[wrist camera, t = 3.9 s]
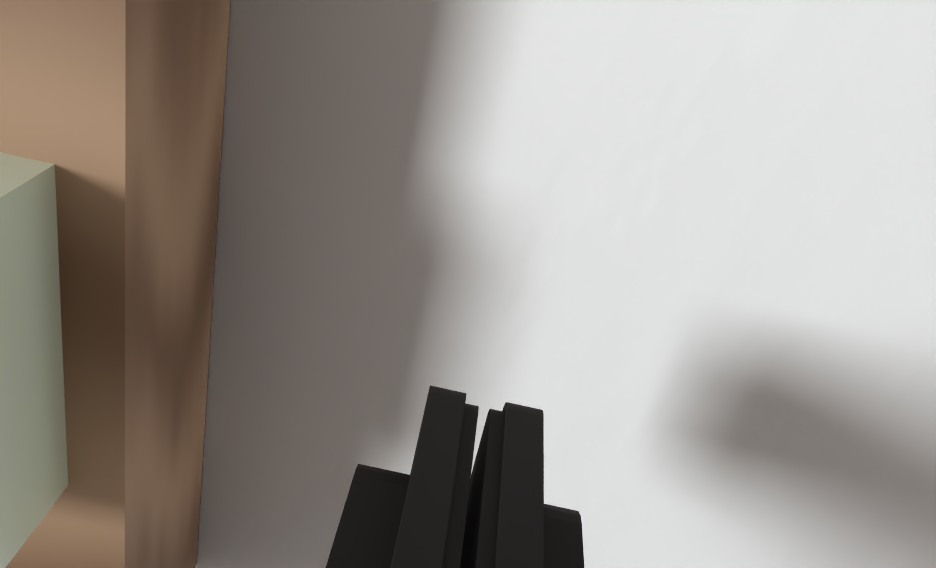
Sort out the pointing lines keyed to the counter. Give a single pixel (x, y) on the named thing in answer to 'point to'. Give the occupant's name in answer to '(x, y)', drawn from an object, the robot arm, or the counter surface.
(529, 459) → the robot arm
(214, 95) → the board
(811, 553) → the counter surface
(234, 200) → the counter surface
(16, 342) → the tile
